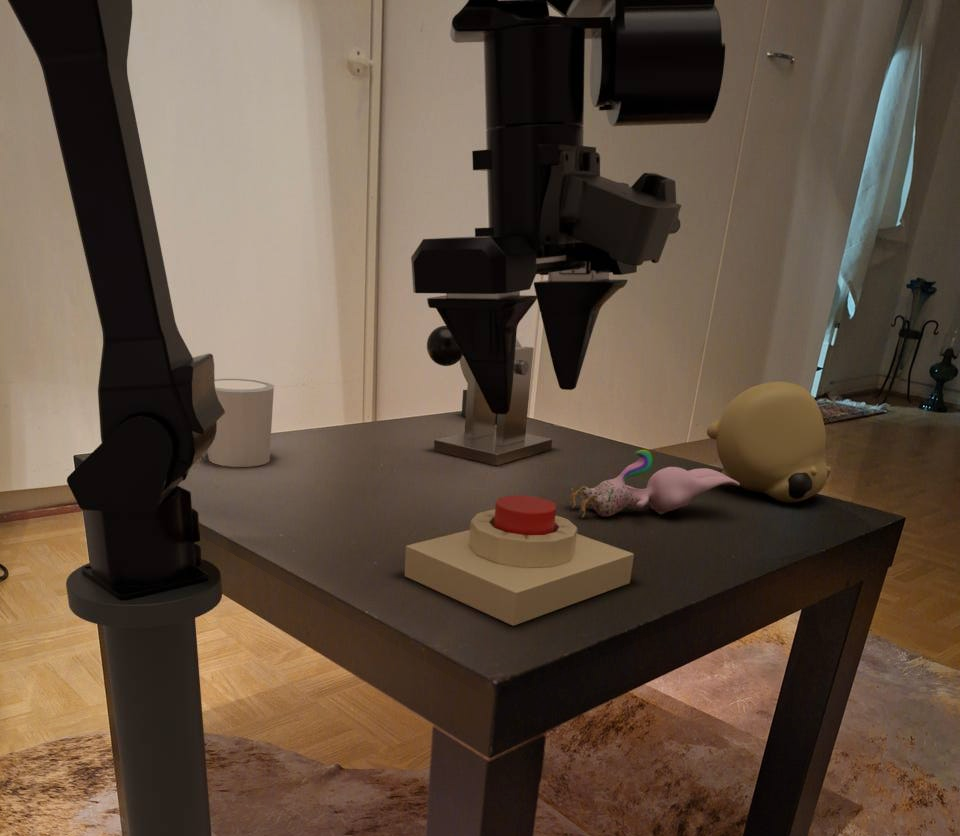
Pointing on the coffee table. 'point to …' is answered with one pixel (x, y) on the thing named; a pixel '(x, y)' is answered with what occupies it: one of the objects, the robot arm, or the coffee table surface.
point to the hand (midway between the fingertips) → (536, 400)
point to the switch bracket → (511, 428)
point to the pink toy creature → (650, 488)
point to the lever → (443, 347)
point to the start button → (525, 515)
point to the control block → (517, 568)
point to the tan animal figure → (773, 441)
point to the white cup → (243, 423)
